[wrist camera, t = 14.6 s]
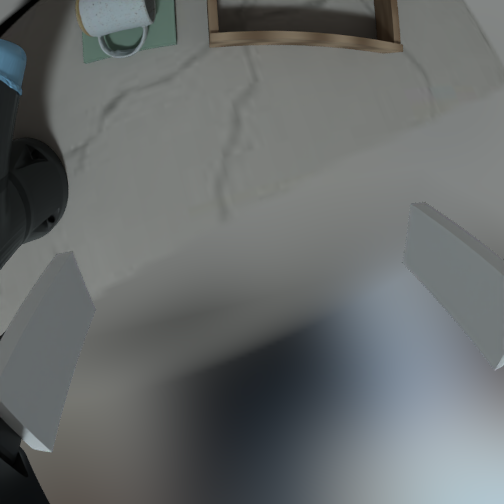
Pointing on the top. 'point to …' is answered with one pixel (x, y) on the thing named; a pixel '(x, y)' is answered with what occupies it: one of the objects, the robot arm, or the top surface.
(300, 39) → the open wooden box frame
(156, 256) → the top surface
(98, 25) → the ceramic mug
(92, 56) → the rubber mat
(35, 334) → the robot arm
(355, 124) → the top surface
